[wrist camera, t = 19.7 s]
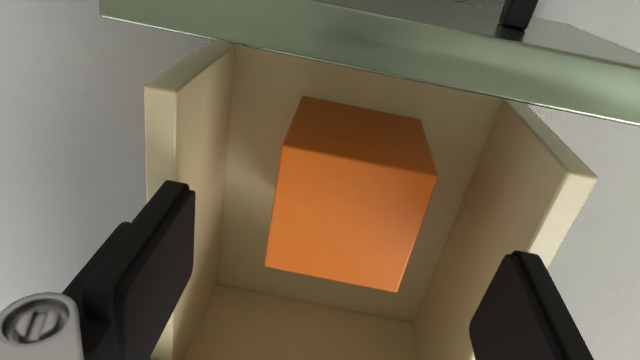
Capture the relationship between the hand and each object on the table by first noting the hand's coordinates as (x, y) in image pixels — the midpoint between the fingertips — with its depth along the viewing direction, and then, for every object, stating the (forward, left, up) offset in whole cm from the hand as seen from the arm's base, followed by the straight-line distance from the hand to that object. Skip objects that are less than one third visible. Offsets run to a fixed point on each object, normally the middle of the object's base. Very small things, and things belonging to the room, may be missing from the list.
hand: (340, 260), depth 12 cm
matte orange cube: (0, 0, -6) cm, 6 cm away
